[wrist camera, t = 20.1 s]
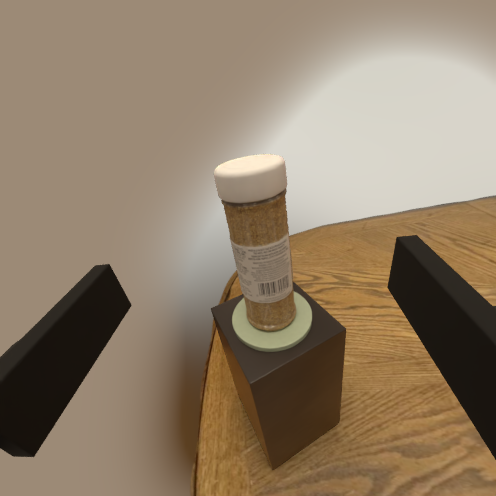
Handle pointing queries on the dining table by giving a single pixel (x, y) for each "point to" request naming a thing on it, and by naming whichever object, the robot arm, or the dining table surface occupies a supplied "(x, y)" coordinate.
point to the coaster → (277, 338)
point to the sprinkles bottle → (259, 236)
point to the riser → (287, 381)
